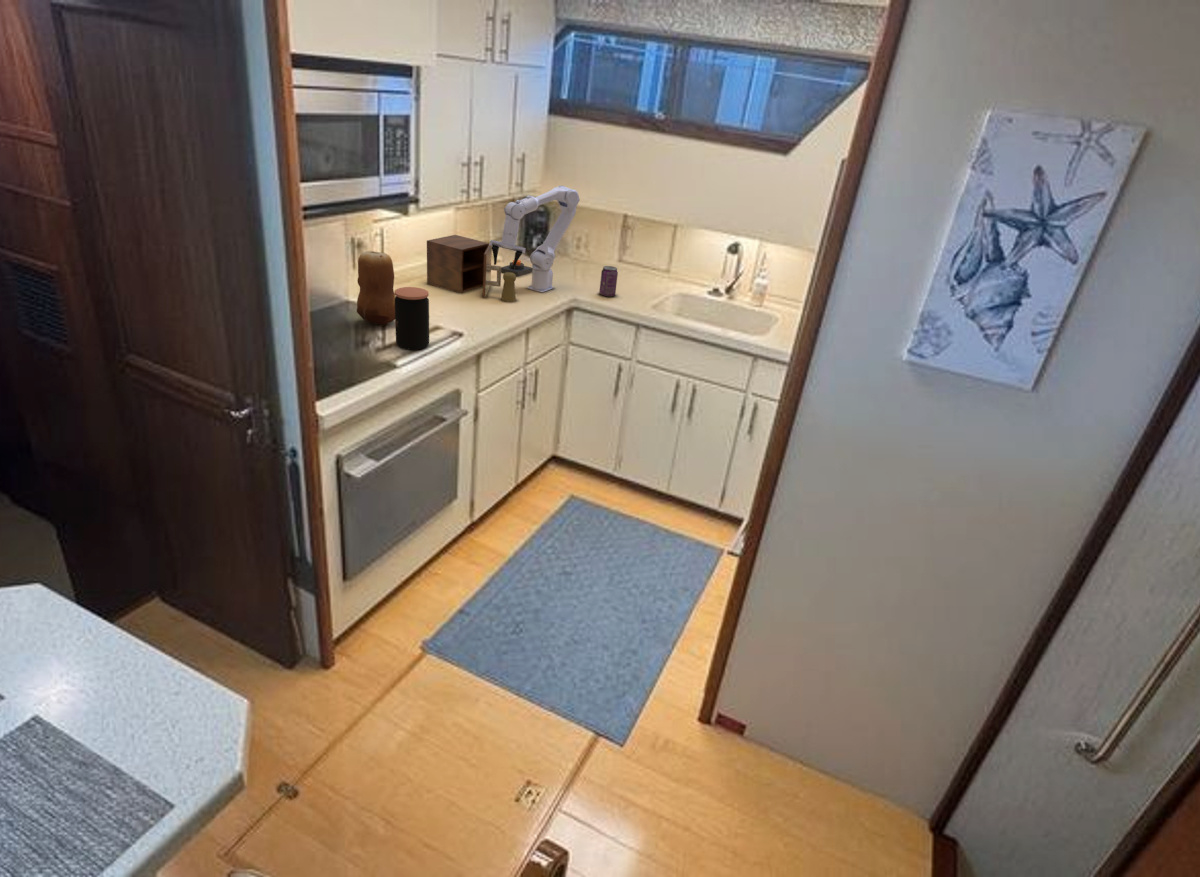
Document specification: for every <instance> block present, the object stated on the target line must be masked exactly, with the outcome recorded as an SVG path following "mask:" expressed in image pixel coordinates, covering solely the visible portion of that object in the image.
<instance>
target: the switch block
mask: <svg viewBox="0 0 1200 877" xmlns="http://www.w3.org/2000/svg"><path fill="white" fill-rule="evenodd" d="M512 267H513V261H511V262H509V264H507V265H505V266H501V274H504V273H506V272H511V273H514V274H515V275H516V278H519V277H523V276H525V275H528V274H532V268H533V267H531V266H527V265H525V264H524V263H523V262H521V265H515V268H514V269H512Z"/></svg>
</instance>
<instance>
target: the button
mask: <svg viewBox="0 0 1200 877" xmlns="http://www.w3.org/2000/svg"><path fill="white" fill-rule="evenodd" d="M512 262H513V263H514V259H513V260H512ZM521 263H522V260H521V259H520V260H519V259H518V261H517V263H516V265H521Z"/></svg>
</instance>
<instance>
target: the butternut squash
mask: <svg viewBox="0 0 1200 877" xmlns="http://www.w3.org/2000/svg"><path fill="white" fill-rule="evenodd" d="M357 275H358V276H357V284H358V286H359V293H358V296H357V300H356V313H357V314H358V315H359V316H360V317H361V319H362V320H363V321H365V322H367V323H369V324H374V325H377V326H387V325H388V324H390V323H392V322H394V321H395V297H396V295H395V293H394V292H395V289H394V283H395V270H394V264H393V260H392V258H391V256H390V254H387V253H385V252H379V251H374V250H365V251H363V252H362V253H360V255H359V256H358V260H357Z"/></svg>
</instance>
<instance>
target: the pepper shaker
mask: <svg viewBox="0 0 1200 877" xmlns="http://www.w3.org/2000/svg"><path fill="white" fill-rule="evenodd" d="M502 279H503V285H502V291H501V297H500V300H501V301H503V302H506V303H514V302H516V301H517V296H516V285H515V282H516V280H517V277H516V275H515V274H514V273H511V272H506V273H503V275H502Z"/></svg>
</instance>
